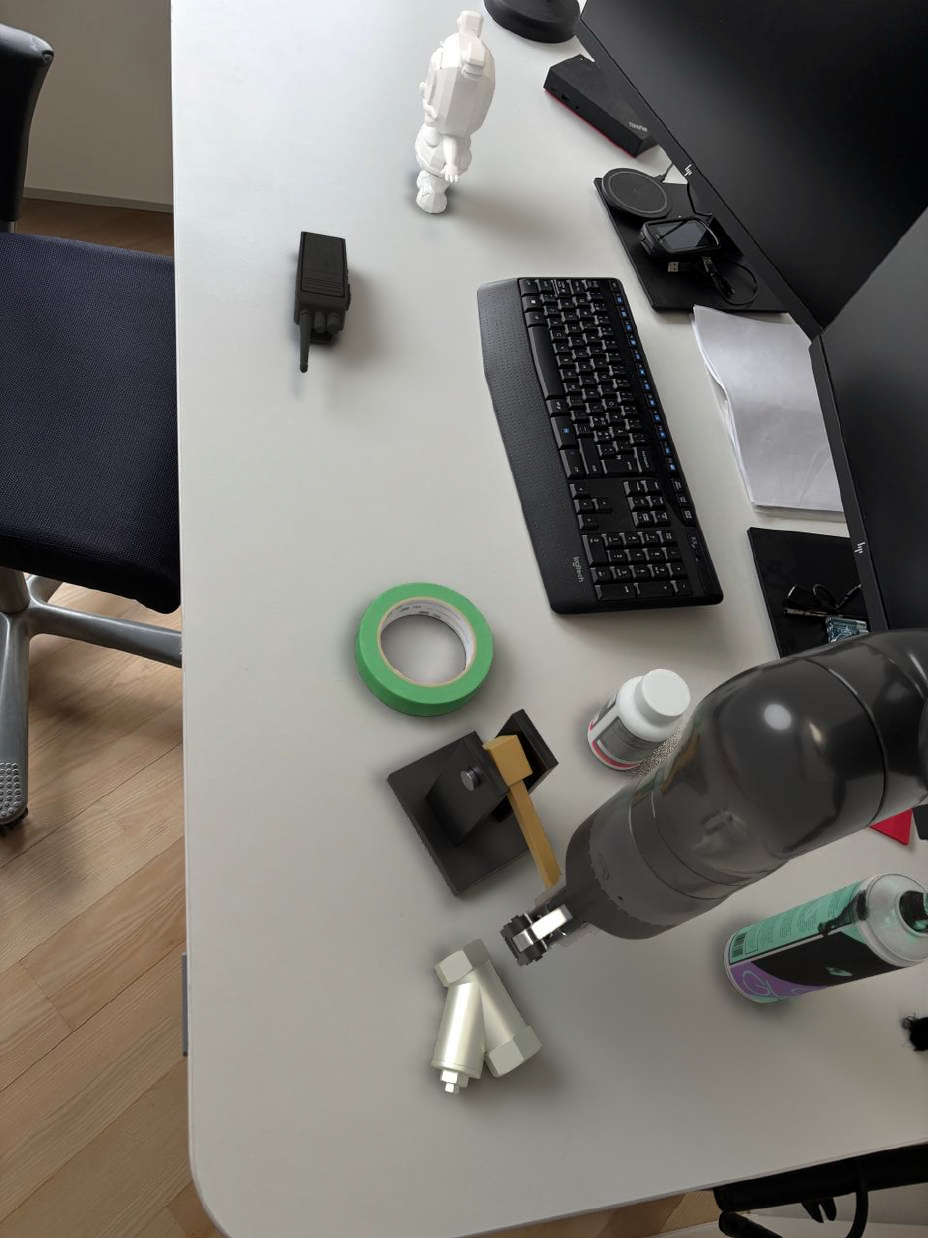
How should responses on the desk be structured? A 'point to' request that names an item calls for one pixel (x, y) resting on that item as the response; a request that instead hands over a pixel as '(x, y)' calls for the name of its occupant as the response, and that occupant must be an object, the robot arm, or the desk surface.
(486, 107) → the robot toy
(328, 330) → the walkie-talkie
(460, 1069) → the pipe fitting
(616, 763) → the pill bottle
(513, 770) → the faucet lever
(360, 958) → the desk surface
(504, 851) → the black mounting base
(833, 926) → the spray can
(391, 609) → the tape roll
